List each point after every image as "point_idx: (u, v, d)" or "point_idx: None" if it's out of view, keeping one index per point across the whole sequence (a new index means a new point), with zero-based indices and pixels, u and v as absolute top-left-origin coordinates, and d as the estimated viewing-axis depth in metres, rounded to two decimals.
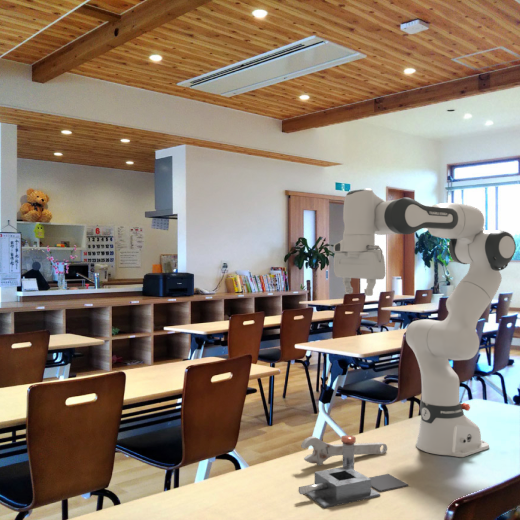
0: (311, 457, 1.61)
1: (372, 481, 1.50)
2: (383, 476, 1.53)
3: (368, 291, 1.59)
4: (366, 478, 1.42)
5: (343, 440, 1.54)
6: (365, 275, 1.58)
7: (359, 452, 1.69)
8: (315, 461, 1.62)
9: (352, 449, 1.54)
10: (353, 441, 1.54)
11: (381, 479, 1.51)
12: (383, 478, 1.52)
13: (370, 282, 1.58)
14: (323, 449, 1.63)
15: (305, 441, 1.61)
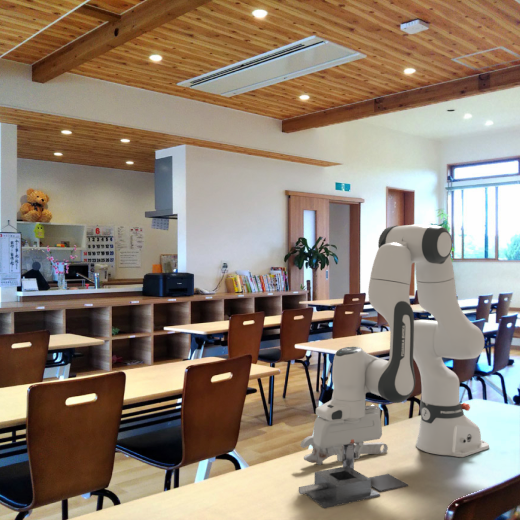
0: (310, 456, 1.62)
1: (372, 481, 1.50)
2: (383, 476, 1.53)
3: None
4: (366, 478, 1.42)
5: None
6: (370, 437, 1.56)
7: None
8: (314, 460, 1.62)
9: (352, 449, 1.54)
10: (353, 441, 1.54)
11: (381, 479, 1.51)
12: (383, 478, 1.52)
13: None
14: (323, 448, 1.63)
15: (304, 440, 1.61)
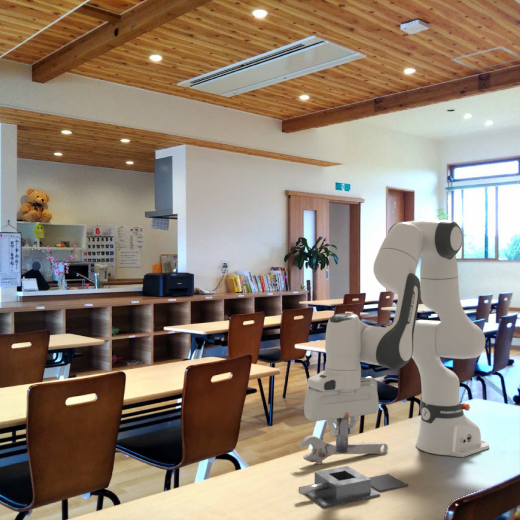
0: (310, 456, 1.62)
1: (372, 481, 1.50)
2: (383, 476, 1.53)
3: None
4: (366, 478, 1.42)
5: None
6: (366, 411, 1.45)
7: (359, 451, 1.69)
8: (314, 460, 1.63)
9: (346, 423, 1.43)
10: (347, 414, 1.42)
11: (381, 479, 1.51)
12: (383, 478, 1.52)
13: None
14: (322, 448, 1.64)
15: (304, 440, 1.62)
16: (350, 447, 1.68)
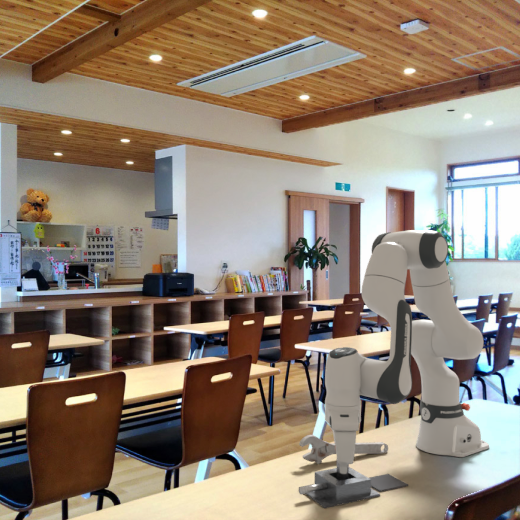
0: (309, 455, 1.63)
1: (372, 481, 1.50)
2: (383, 476, 1.53)
3: None
4: (366, 478, 1.42)
5: None
6: None
7: (359, 451, 1.69)
8: (313, 459, 1.63)
9: None
10: None
11: (381, 479, 1.51)
12: (383, 478, 1.52)
13: None
14: (322, 447, 1.64)
15: (303, 439, 1.62)
16: None
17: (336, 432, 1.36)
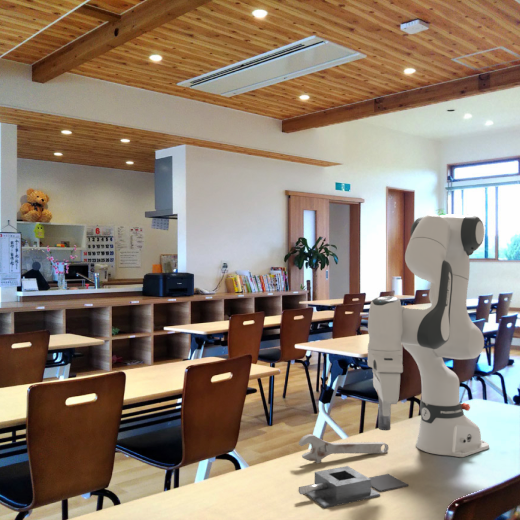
0: (309, 454, 1.63)
1: (372, 481, 1.50)
2: (383, 476, 1.53)
3: None
4: (366, 478, 1.42)
5: None
6: None
7: (359, 451, 1.70)
8: (313, 459, 1.64)
9: None
10: None
11: (381, 479, 1.51)
12: (383, 478, 1.52)
13: None
14: (321, 447, 1.64)
15: (303, 439, 1.63)
16: (350, 446, 1.68)
17: (381, 374, 1.41)
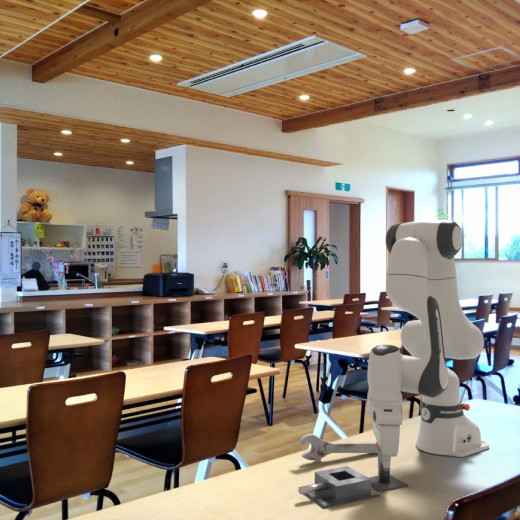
0: (308, 454, 1.64)
1: (372, 481, 1.50)
2: None
3: None
4: (366, 478, 1.42)
5: None
6: None
7: (359, 451, 1.70)
8: (312, 458, 1.64)
9: None
10: None
11: None
12: None
13: None
14: (321, 446, 1.65)
15: (302, 438, 1.63)
16: (349, 446, 1.69)
17: (381, 426, 1.41)
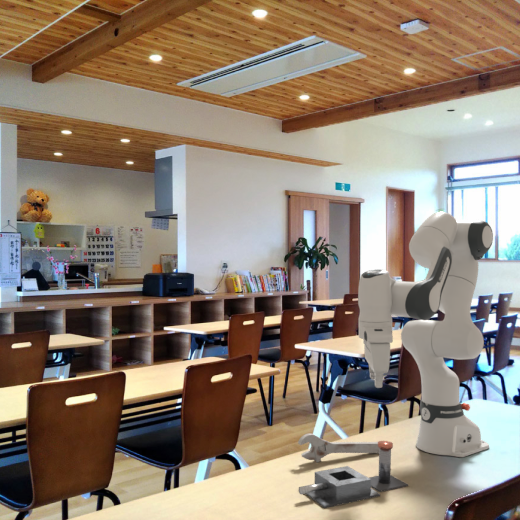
0: (308, 454, 1.64)
1: (372, 481, 1.50)
2: None
3: None
4: (366, 478, 1.42)
5: (387, 447, 1.48)
6: None
7: (359, 451, 1.70)
8: (312, 458, 1.64)
9: None
10: None
11: None
12: None
13: None
14: (321, 446, 1.65)
15: (302, 438, 1.64)
16: (349, 446, 1.69)
17: (372, 344, 1.45)
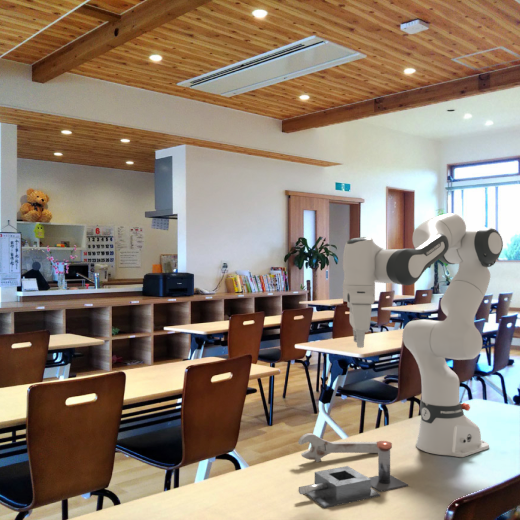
0: (308, 453, 1.64)
1: (372, 481, 1.50)
2: None
3: None
4: (366, 478, 1.42)
5: (386, 447, 1.48)
6: None
7: (359, 450, 1.70)
8: (312, 457, 1.65)
9: None
10: None
11: None
12: None
13: None
14: (321, 446, 1.65)
15: (302, 437, 1.64)
16: (350, 445, 1.69)
17: (354, 305, 1.53)
